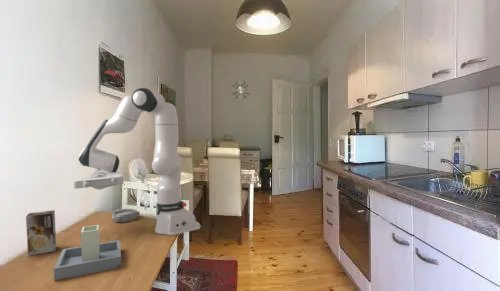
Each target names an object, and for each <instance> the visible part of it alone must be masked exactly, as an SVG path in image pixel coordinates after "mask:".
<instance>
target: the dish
mask: <svg viewBox="0 0 500 291" xmlns="http://www.w3.org/2000/svg"><path fill="white" fill-rule="evenodd" d="M140 214H141V213H140V210H137V209H134V208H121V209H117V210H114V211H113V212H112V221H113V222H114V223H116V222H123V223H128V222H127V221H129V222H132V221H135V220H136V219H137V217H138V216H140ZM134 219H135V220H134Z"/></svg>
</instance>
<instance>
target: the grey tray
mask: <svg viewBox="0 0 500 291" xmlns="http://www.w3.org/2000/svg"><path fill="white" fill-rule="evenodd" d="M99 243H100V259H97V260H92V261H86V262H82V248H81V246H75V247H69V248H64V249H62V250H61V252H60V255H59V256H58V258H57V261H56V263H55V265H54V268H53V276H54V277H53V278H54V279H53V281H54V280H56V281H59V280H58V279H61V280H64V279H63V278H66V279H70V278H76V277H81V276H86V275H89V274H90V275H91V274H94V273H100V272H106V271H110V270H115V269H119V268H122V253H121V252H122V251H121V239H119V240H113V241H106V242H99Z"/></svg>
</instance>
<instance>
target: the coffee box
mask: <svg viewBox="0 0 500 291" xmlns="http://www.w3.org/2000/svg"><path fill="white" fill-rule="evenodd" d="M25 226H26V243H27V256H33V255H40V254H46V253H51V252H52V253H53V252H56V249H57V235H56V234H57V233H56V214H55V209H54V210H45V211H38V212H37V211H35V212H29V213H27V215H26V216H25Z"/></svg>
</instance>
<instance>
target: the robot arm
mask: <svg viewBox="0 0 500 291" xmlns="http://www.w3.org/2000/svg"><path fill="white" fill-rule="evenodd" d="M144 112H147V113H152V114H153V116H154V129H155V130H154V131H155V132H154V134H155V135H154V136H155V138H154V139H155V140H154V141H155V143H154V150H153V160H152V163H151V168H152V171H153V173H155V174H156V175H157V176H158V182H157V186H156V206H155V209H156V223H155V228H154V233H155V234H158V235H167V236H175V235H179V234H180V235H181V234H184V233H188V232H192V231H196V230H197V231H198V230H200V229H201V224H200V223H199V222H198V221H197V220H196V219H197V218H196V216H195V215H194V213H193V212H191V211H190V210H188V209H187V208H186V207H187V203H186V202H185V201H182V200H181V177H182V164H183V163H182V158H181V156H180V155H179V154H178V144H179V122H178V121H179V119H178V113H177V109H176V106H175V105H174V104H173V103H170V102H168V100H167V98H166V97H165V96H164V95H163V93H161V92H158V91H156V90H154V89H150V88H146V87H139V88H136V89H135V90H134V91H133V92H132V94H131V95H126V96H124V97H123V99H122V100H121V102H120V103H119V105H118V107H117V108H116V110H115V112H114V115H113V116H112V117H111V118H109V119H104V121H103V122H102V123H101V124H100V126H99V127H98V128H97V130H96V131H95V133H94V134H93V136H92V137H91V139H90V140H89V142H88V143H87V145H86V146H85V147H84V148H83V149H82V150H81V151H80V153H79V155H78V161H79V164H81V166H83V167H89V168H93V169H96V170H95V171H94V172H92V174H91V175H90V177H83V178H77V179H75V180H74V181H73V188H74V189H85V188H93V189H94V190H103V189H107V188H109V187H117V186H120V185H123V184H124V175H122V174H121V173H120V172H118V169H119V166H120V158H119V156H118V155H117V154H115V153H111V152H107V151H104V150H101V149H100V148H99V149H98V148H97V146H98V145H99V143H100V142H101V141H102V139H103V137H104V136H106V135H109V134H127V133H130V132H132V131H133V130H134V128H136V126H137V124H138V121H139V119H140V117H141V115H142V114H143V113H144Z"/></svg>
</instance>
